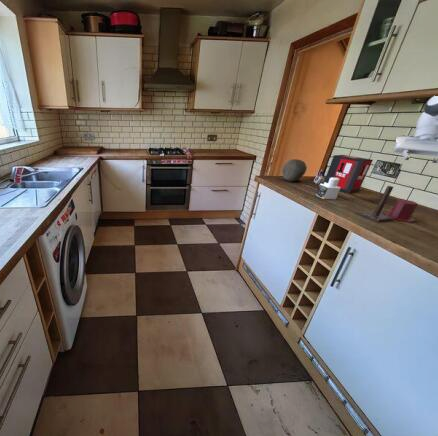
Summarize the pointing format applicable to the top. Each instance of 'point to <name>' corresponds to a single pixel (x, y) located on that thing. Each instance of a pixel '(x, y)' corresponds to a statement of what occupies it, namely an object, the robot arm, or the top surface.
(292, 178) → the grey stone ball
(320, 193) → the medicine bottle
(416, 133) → the robot arm
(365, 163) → the cleaning product box
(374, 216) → the hat stand
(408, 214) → the hat
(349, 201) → the top surface
